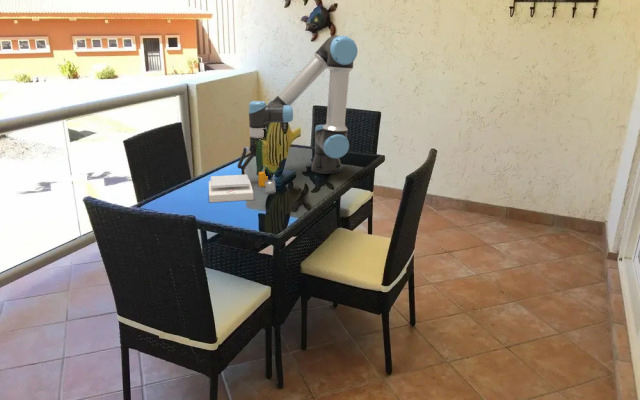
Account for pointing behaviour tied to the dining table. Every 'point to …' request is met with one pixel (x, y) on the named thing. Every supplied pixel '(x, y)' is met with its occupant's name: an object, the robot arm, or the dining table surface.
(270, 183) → the block
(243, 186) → the scale
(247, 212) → the dining table surface
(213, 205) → the dining table surface
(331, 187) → the dining table surface
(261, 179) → the pipe clamp
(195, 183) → the dining table surface
